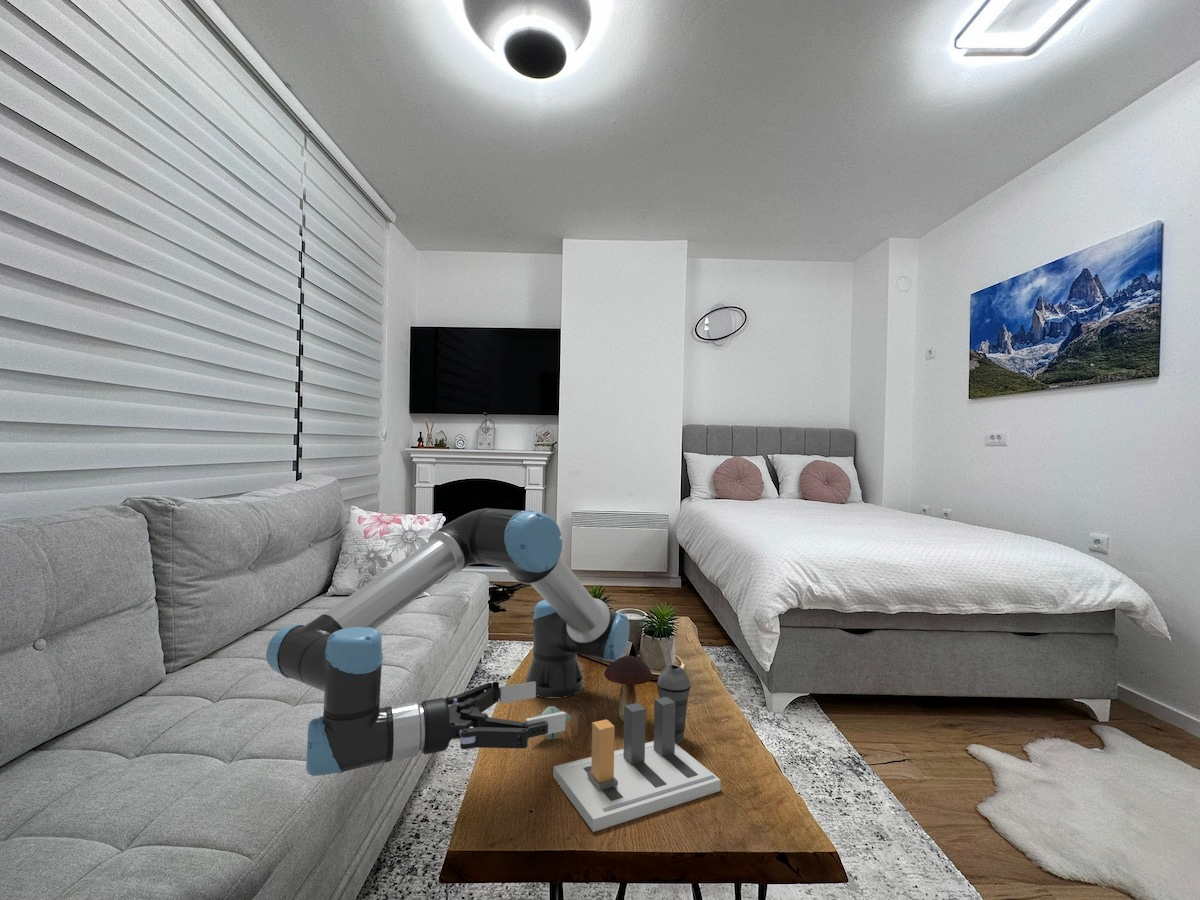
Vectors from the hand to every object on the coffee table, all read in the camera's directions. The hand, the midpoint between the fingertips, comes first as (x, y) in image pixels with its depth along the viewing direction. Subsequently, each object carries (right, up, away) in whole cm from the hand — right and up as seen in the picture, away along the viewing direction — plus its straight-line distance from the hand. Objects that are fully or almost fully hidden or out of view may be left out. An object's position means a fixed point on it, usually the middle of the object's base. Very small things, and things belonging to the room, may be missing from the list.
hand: (549, 704), depth 93 cm
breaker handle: (+9, -16, +5) cm, 19 cm away
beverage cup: (+25, -19, +25) cm, 40 cm away
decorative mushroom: (+15, -19, +32) cm, 41 cm away
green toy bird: (-2, -19, +24) cm, 30 cm away
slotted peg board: (+15, -18, +8) cm, 25 cm away
